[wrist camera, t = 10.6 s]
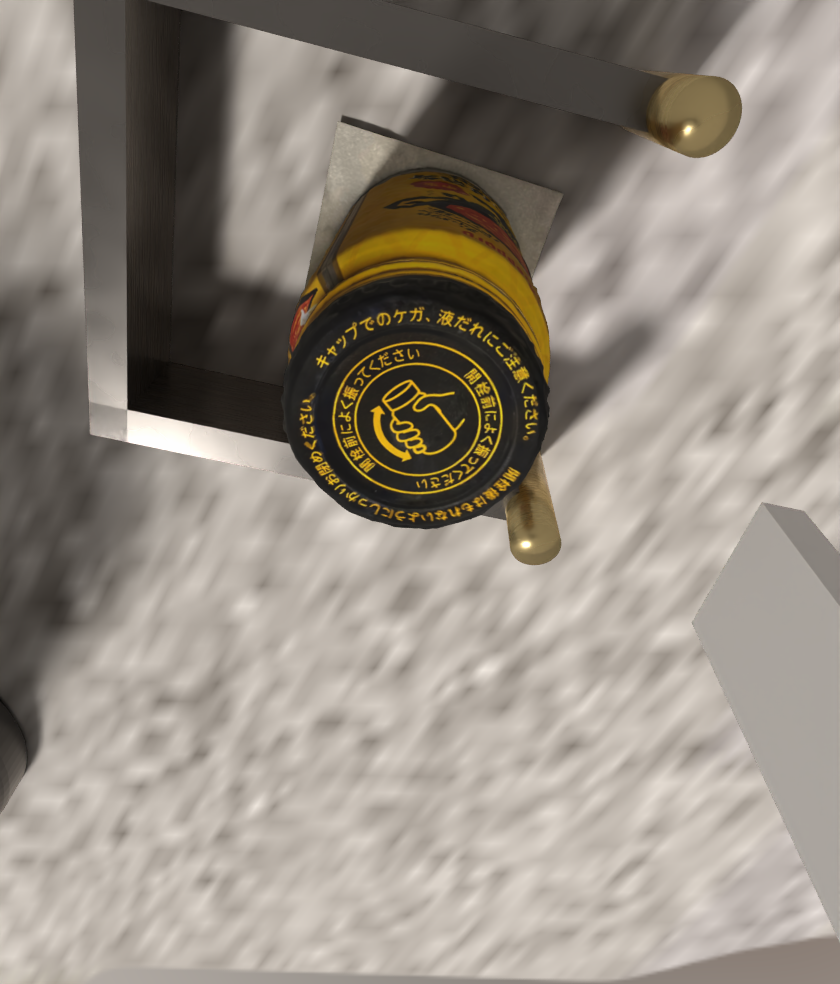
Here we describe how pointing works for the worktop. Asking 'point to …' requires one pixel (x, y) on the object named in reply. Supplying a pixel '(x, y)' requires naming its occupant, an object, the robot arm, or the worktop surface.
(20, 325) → the worktop surface
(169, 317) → the grey open rectangular box
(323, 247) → the condiment
